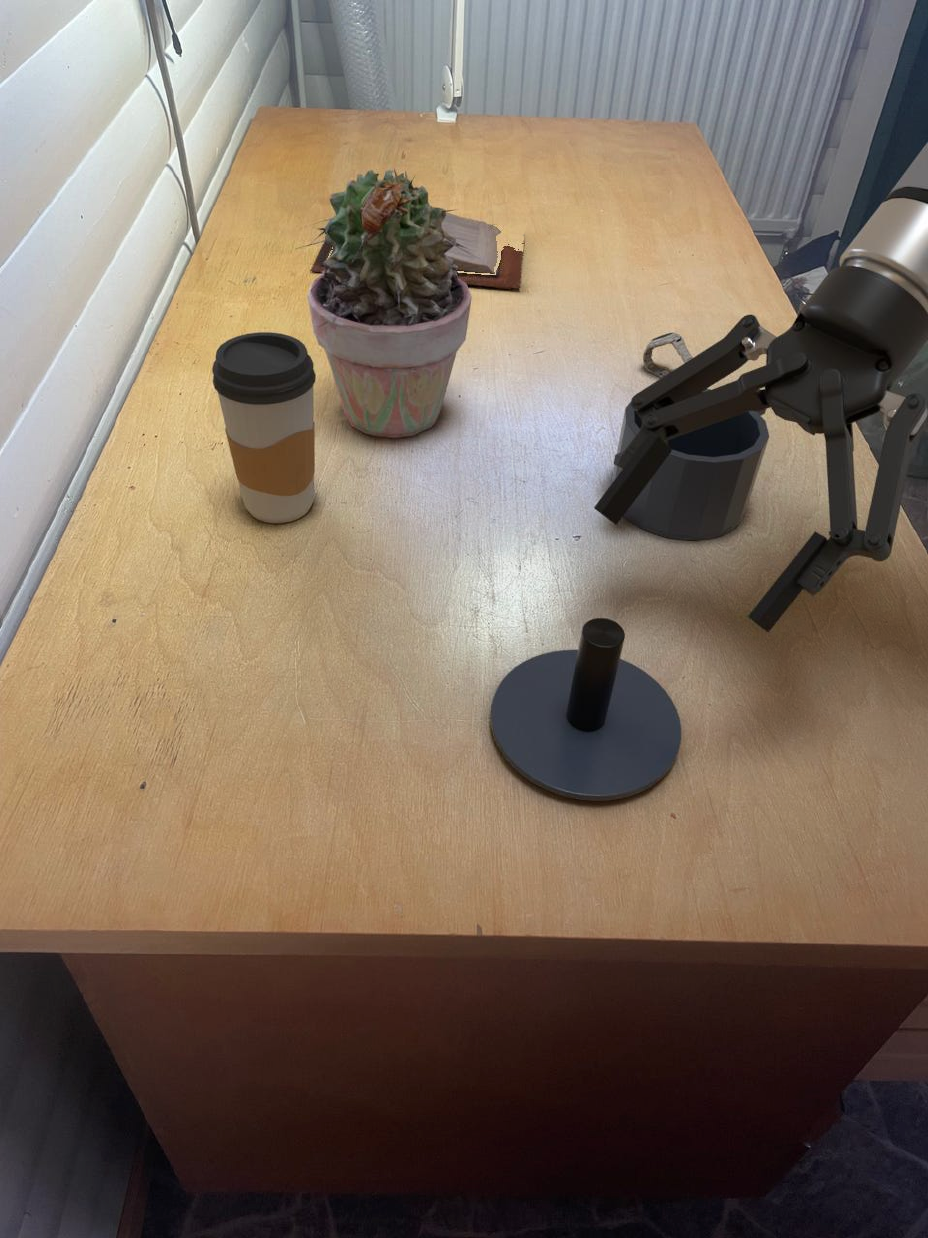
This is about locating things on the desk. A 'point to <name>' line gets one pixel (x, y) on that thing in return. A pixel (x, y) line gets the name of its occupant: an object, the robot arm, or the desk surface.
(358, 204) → the potted plant
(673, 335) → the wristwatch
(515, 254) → the book
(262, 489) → the coffee cup
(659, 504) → the pot
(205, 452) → the desk surface
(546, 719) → the lid
